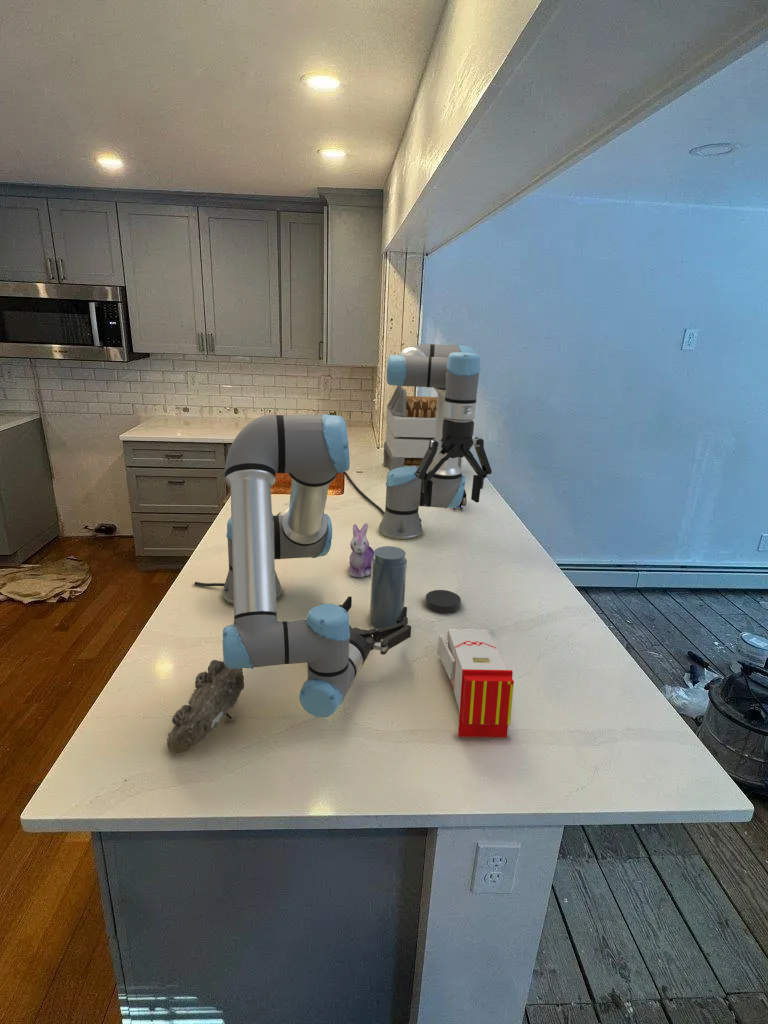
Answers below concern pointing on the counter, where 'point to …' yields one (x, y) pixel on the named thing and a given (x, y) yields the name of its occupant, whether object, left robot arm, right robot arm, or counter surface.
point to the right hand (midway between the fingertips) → (451, 503)
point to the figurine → (360, 553)
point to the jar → (387, 585)
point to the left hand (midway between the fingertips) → (377, 606)
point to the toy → (478, 682)
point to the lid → (442, 601)
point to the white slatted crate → (409, 429)
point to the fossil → (205, 706)
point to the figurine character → (463, 501)
